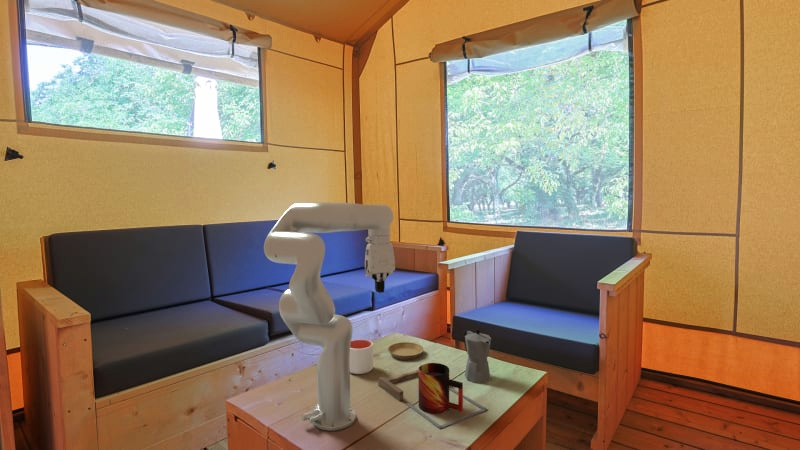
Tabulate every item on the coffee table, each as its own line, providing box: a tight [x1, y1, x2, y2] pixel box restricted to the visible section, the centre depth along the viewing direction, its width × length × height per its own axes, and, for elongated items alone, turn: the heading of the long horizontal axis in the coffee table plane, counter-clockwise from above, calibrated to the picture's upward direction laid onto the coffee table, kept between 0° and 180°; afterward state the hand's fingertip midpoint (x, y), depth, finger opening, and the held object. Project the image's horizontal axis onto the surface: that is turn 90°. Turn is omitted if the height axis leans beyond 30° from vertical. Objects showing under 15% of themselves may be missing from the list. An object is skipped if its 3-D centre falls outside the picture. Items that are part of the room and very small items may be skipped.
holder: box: [377, 369, 419, 402], centre depth 148 cm, size 20×14×3 cm
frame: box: [405, 387, 489, 430], centre depth 133 cm, size 19×17×1 cm
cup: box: [350, 339, 374, 375], centre depth 161 cm, size 10×10×10 cm
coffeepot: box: [462, 328, 492, 384], centre depth 155 cm, size 15×9×18 cm, turn 26°
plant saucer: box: [387, 341, 424, 360], centre depth 177 cm, size 15×15×3 cm
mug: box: [418, 362, 464, 415], centre depth 133 cm, size 10×14×12 cm
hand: (379, 291), depth 150 cm, fingers closed
